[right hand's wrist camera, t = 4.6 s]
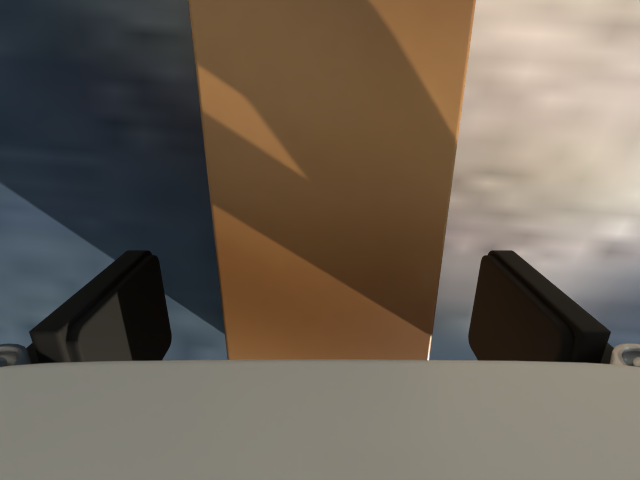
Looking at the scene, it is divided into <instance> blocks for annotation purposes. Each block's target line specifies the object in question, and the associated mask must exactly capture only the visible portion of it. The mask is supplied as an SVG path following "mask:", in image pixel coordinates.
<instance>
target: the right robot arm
mask: <svg viewBox="0 0 640 480" xmlns="http://www.w3.org/2000/svg"><path fill="white" fill-rule="evenodd" d="M29 333H30V336H31V339H32V342H33V343H32V344H31V345H29V346H28V347H27V348H25V347H24V346H21V345H19V344H1V345H0V480H640V345H639V344H621V345H619V346H616V347H615V348H613V347H612V346H611V345H609V344H608V343H607V342H608V339H609V336H610V333H611V332H610V331H609V330H608V329H607V328H606V327H604V326H603V325H602V324H601V323H600V322H598V321H597V320H596V319H595V318H594V317H592V316H591V315H590V314H589V313H587V312H586V311H585V310H584V309H583V308H581V307H580V306H579V305H578V304H577V303H575V302H574V301H573V300H572V299H571V298H569V297H568V296H567V295H566V294H564V293H563V292H562V291H561V290H560V289H558V288H557V287H556V286H555V285H554V284H552V283H551V282H550V281H549V280H548V279H546V278H545V277H544V276H543V275H542V274H540V273H539V272H538V271H537V270H535V269H534V268H533V267H532V266H531V265H529V264H528V263H527V262H526V261H525V260H523V259H522V258H521V257H520V256H519V255H517V254H516V253H515V252H514V251H490V252H489V253H488V255H485V256H483V257H482V260H481V264H480V270H479V276H478V282H477V288H476V294H475V300H474V305H473V311H472V317H471V323H470V329H469V336H468V337H469V344H470V347H471V349H472V351H473V352H474V354H475V356H476V357H477V359H478V361H471V360H171V361H162V359H163V357H164V356H165V354H166V352H167V351H168V349H169V347H170V344H171V337H172V336H171V329H170V323H169V317H168V311H167V305H166V300H165V294H164V288H163V282H162V276H161V270H160V264H159V260H158V257H157V256H155V255H152V253H151V252H150V251H126V252H125V253H124V254H123V255H121V256H120V257H119V258H118V259H117V260H115V261H114V262H113V263H112V264H111V265H109V266H108V267H107V268H106V269H105V270H103V271H102V272H101V273H100V274H98V275H97V276H96V277H95V278H94V279H92V280H91V281H90V282H89V283H88V284H86V285H85V286H84V287H83V288H82V289H80V290H79V291H78V292H77V293H76V294H74V295H73V296H72V297H71V298H69V299H68V300H67V301H66V302H65V303H63V304H62V305H61V306H60V307H59V308H57V309H56V310H55V311H54V312H53V313H51V314H50V315H49V316H48V317H46V318H45V319H44V320H43V321H42V322H40V323H39V324H38V325H37V326H36V327H34V328H33V329H32V330H31V331H30V332H29Z"/></svg>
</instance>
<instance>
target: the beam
mask: <svg viewBox="0 0 640 480" xmlns="http://www.w3.org/2000/svg"><path fill="white" fill-rule="evenodd" d="M475 2H476V0H188V4H189V13H190V22H191V31H192V40H193V49H194V58H195V67H196V76H197V85H198V94H199V103H200V113H201V122H202V131H203V140H204V149H205V158H206V167H207V176H208V185H209V194H210V203H211V212H212V221H213V231H214V240H215V249H216V258H217V267H218V276H219V285H220V294H221V303H222V312H223V321H224V330H225V340H226V349H227V358H228V360H429V356H430V348H431V340H432V333H433V325H434V317H435V310H436V302H437V294H438V287H439V279H440V271H441V264H442V256H443V248H444V241H445V233H446V225H447V217H448V210H449V202H450V194H451V187H452V179H453V171H454V164H455V156H456V148H457V141H458V133H459V125H460V118H461V110H462V102H463V95H464V87H465V79H466V71H467V64H468V56H469V48H470V41H471V33H472V25H473V18H474V10H475Z"/></svg>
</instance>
